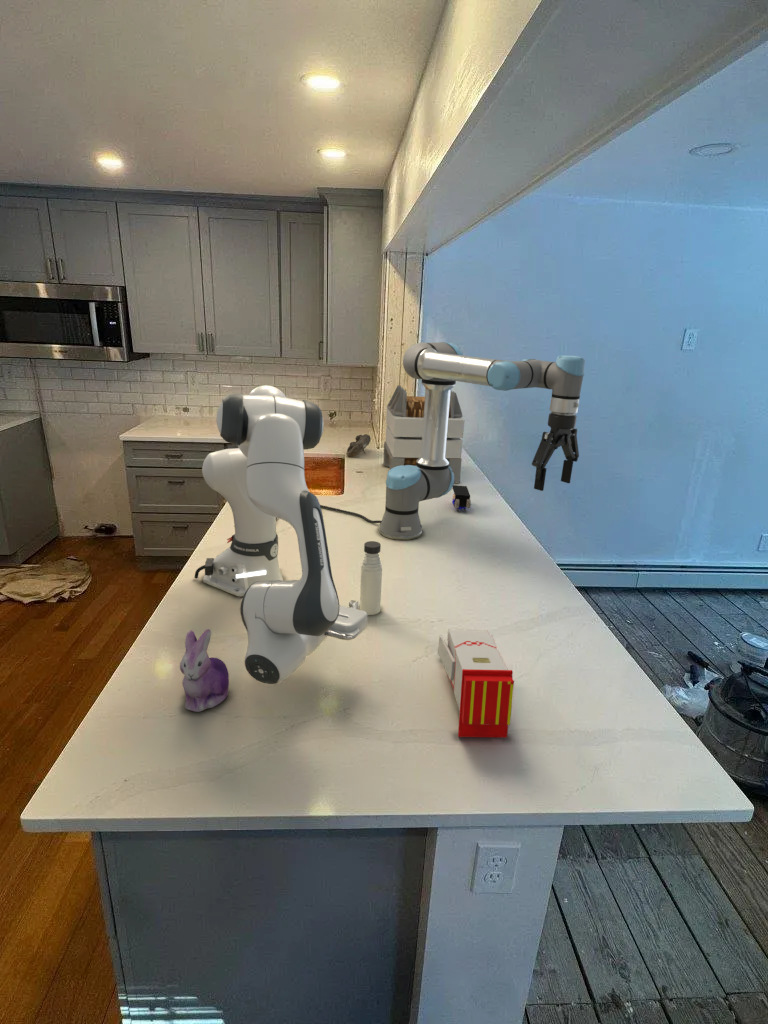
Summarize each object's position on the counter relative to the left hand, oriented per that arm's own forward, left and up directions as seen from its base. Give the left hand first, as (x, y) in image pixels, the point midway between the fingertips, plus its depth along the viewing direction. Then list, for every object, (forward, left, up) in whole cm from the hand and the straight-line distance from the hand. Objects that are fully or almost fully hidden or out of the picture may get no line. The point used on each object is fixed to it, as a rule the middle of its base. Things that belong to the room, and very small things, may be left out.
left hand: (336, 599), depth 126 cm
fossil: (-72, +172, -13) cm, 188 cm away
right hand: (+38, +65, +15) cm, 77 cm away
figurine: (-15, -26, -13) cm, 33 cm away
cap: (0, +21, +5) cm, 21 cm away
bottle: (0, +21, -13) cm, 25 cm away
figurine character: (0, +112, -13) cm, 113 cm away
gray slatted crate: (-31, +153, -13) cm, 156 cm away
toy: (+32, -1, -13) cm, 35 cm away
